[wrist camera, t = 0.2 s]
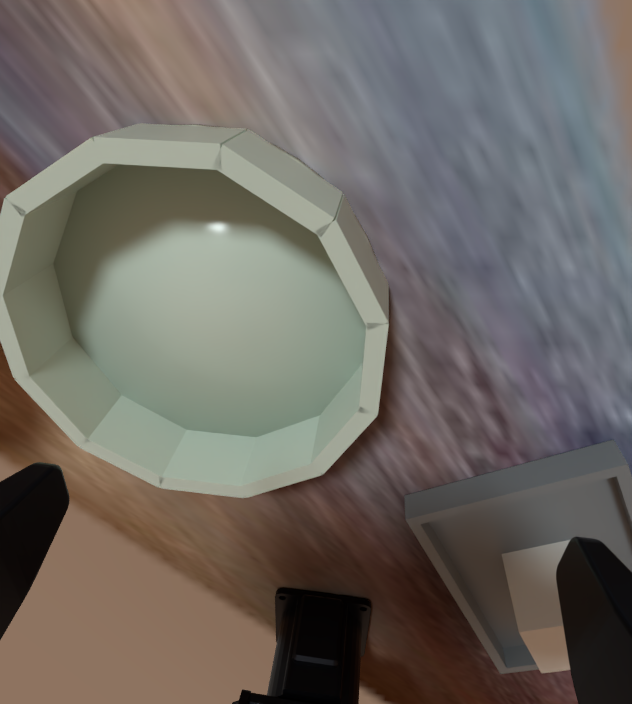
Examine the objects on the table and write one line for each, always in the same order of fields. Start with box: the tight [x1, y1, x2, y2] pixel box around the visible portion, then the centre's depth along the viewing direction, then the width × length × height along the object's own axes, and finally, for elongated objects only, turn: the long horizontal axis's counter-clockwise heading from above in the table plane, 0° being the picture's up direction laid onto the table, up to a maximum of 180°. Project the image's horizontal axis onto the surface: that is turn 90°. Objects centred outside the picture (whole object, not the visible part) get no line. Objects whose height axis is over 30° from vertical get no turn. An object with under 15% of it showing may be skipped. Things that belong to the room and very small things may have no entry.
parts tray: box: [405, 440, 632, 674], centre depth 29 cm, size 16×11×2 cm
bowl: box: [0, 124, 389, 498], centre depth 22 cm, size 16×16×4 cm
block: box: [502, 540, 570, 673], centre depth 27 cm, size 4×4×5 cm
